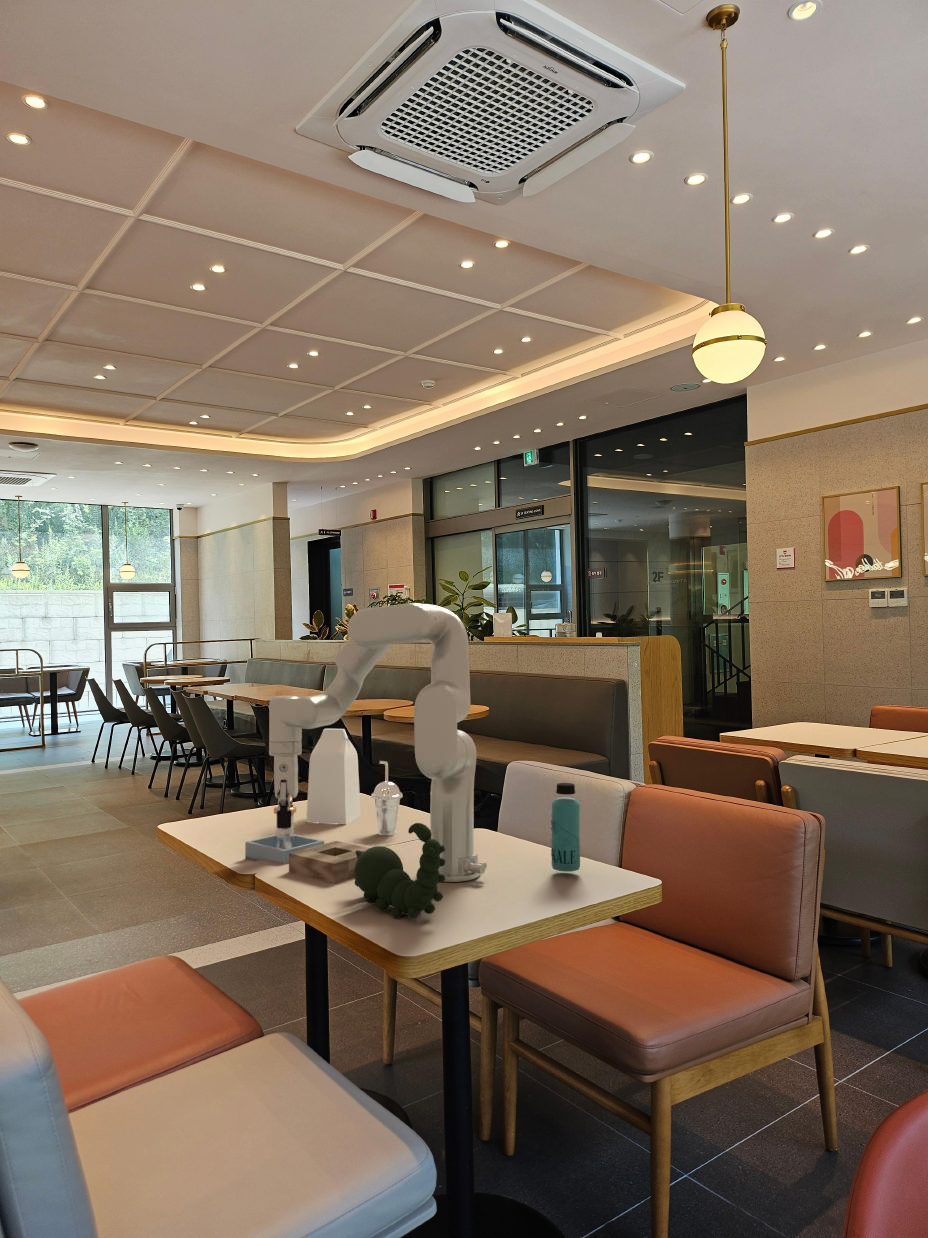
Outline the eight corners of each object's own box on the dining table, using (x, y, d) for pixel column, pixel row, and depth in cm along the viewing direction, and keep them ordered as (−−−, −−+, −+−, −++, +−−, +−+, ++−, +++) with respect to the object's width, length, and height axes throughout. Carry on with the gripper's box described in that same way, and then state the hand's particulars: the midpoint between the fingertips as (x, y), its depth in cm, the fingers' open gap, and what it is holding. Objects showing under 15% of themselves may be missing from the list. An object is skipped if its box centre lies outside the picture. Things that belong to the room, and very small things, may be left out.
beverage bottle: (571, 869, 185) (571, 780, 186) (586, 877, 179) (586, 784, 180) (545, 872, 183) (545, 781, 184) (559, 880, 177) (559, 786, 177)
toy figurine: (453, 929, 152) (372, 887, 170) (459, 827, 151) (377, 796, 170) (413, 941, 146) (334, 896, 164) (419, 835, 145) (339, 802, 163)
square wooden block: (380, 874, 182) (380, 850, 182) (334, 889, 171) (334, 863, 171) (335, 863, 190) (335, 841, 191) (288, 877, 179) (288, 853, 179)
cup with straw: (409, 833, 220) (409, 758, 221) (382, 839, 214) (383, 761, 215) (389, 828, 226) (389, 755, 227) (362, 833, 220) (362, 758, 221)
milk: (306, 822, 234) (306, 730, 234) (322, 814, 245) (322, 726, 246) (345, 825, 231) (346, 731, 232) (360, 816, 242) (360, 727, 243)
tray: (324, 857, 196) (324, 840, 196) (284, 869, 186) (284, 851, 186) (284, 848, 204) (284, 832, 204) (245, 859, 195) (245, 842, 195)
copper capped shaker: (300, 854, 195) (300, 807, 196) (283, 858, 191) (283, 810, 192) (286, 852, 198) (286, 805, 199) (268, 856, 194) (269, 808, 195)
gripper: (299, 752, 188) (299, 832, 187) (303, 743, 205) (303, 816, 204) (265, 753, 187) (265, 833, 186) (272, 744, 204) (272, 817, 203)
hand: (285, 824), depth 195 cm, fingers open, 5 cm apart
